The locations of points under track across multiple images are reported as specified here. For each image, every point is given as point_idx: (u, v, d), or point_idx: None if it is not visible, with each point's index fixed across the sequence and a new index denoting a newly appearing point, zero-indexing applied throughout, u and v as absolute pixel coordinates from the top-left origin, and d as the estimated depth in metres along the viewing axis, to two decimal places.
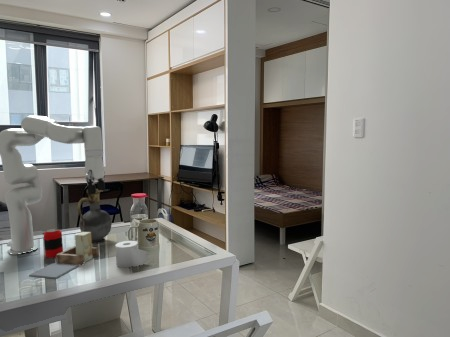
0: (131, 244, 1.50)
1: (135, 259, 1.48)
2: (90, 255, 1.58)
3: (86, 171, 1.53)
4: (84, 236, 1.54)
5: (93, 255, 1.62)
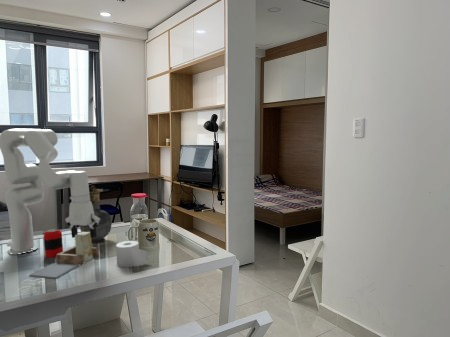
0: (132, 244, 1.50)
1: (136, 259, 1.48)
2: (90, 255, 1.58)
3: (89, 216, 1.53)
4: (84, 236, 1.54)
5: (93, 255, 1.62)
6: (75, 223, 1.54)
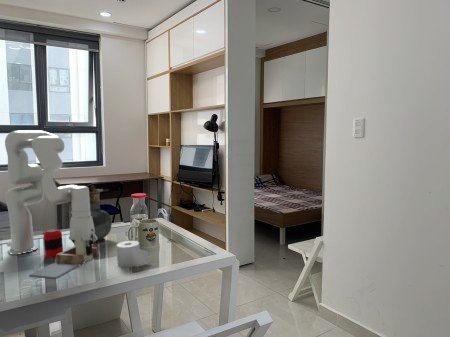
0: (132, 244, 1.50)
1: (136, 259, 1.48)
2: (90, 255, 1.58)
3: (89, 231, 1.54)
4: None
5: (93, 255, 1.62)
6: None
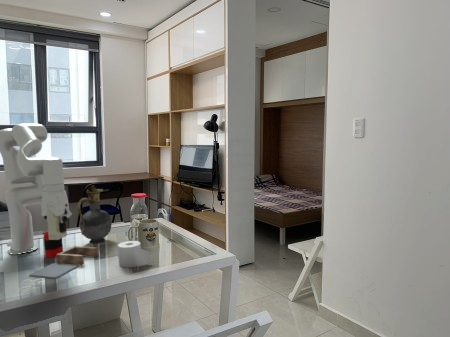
0: (134, 244, 1.50)
1: (138, 259, 1.48)
2: (64, 233, 1.47)
3: (63, 206, 1.42)
4: None
5: (93, 255, 1.62)
6: None
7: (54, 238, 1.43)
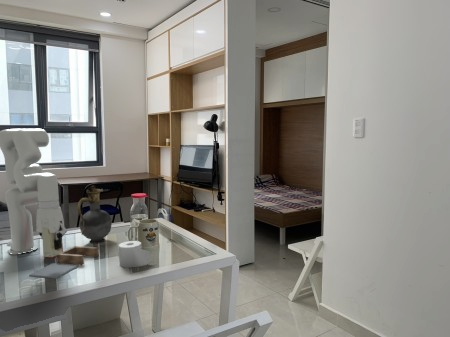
0: (134, 244, 1.50)
1: (138, 259, 1.48)
2: (59, 249, 1.45)
3: (57, 223, 1.40)
4: None
5: (93, 255, 1.62)
6: None
7: (49, 255, 1.41)
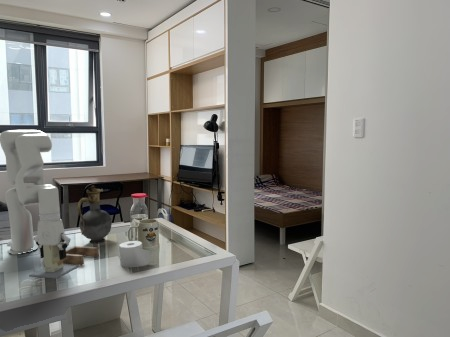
0: (135, 244, 1.50)
1: (139, 259, 1.48)
2: (60, 264, 1.46)
3: (58, 235, 1.41)
4: None
5: (93, 255, 1.62)
6: (43, 243, 1.42)
7: (50, 270, 1.42)
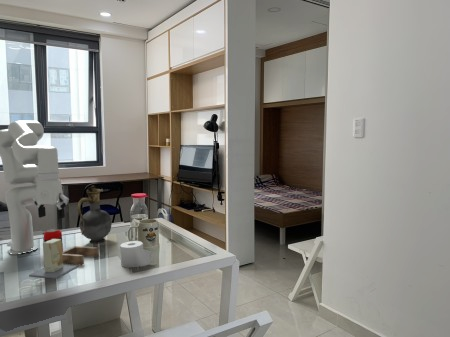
0: (136, 244, 1.50)
1: (140, 259, 1.48)
2: (60, 264, 1.46)
3: (57, 195, 1.42)
4: (53, 244, 1.42)
5: (93, 255, 1.62)
6: (42, 202, 1.44)
7: (50, 270, 1.42)
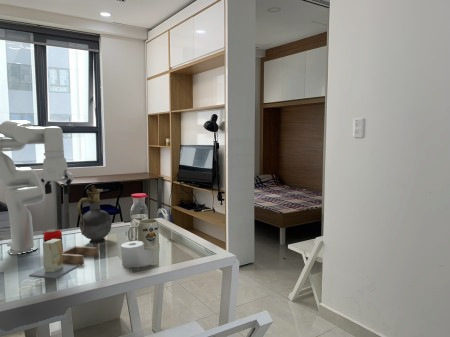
0: (137, 244, 1.49)
1: (141, 259, 1.47)
2: (60, 264, 1.46)
3: (62, 171, 1.52)
4: (53, 244, 1.42)
5: (93, 255, 1.62)
6: (48, 179, 1.53)
7: (50, 270, 1.42)
